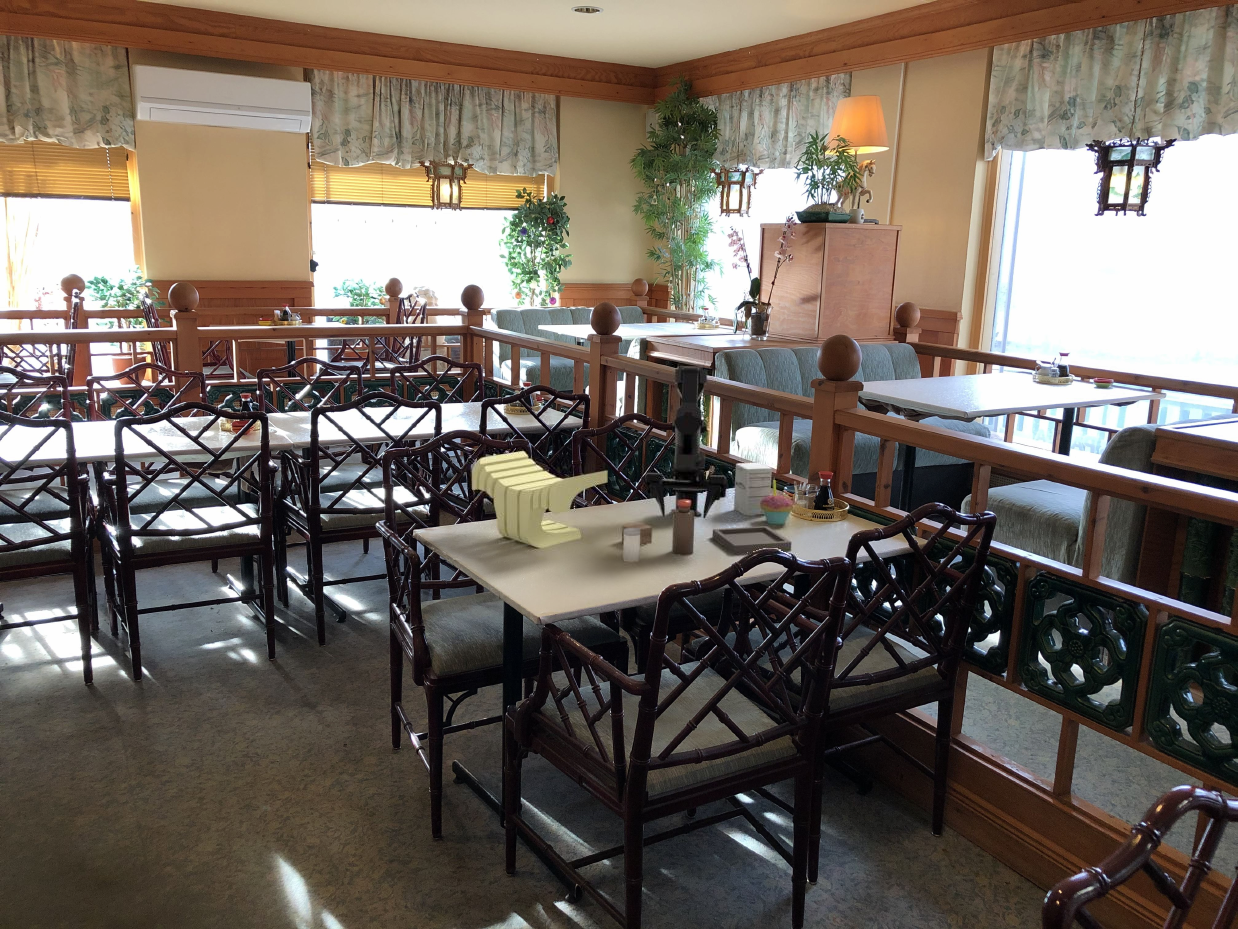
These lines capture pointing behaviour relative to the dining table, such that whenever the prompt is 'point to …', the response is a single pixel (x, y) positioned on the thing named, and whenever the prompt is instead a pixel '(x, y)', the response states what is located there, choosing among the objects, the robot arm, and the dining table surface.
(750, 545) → the tray
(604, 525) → the dining table surface
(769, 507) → the cupcake
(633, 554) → the salt shaker
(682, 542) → the soy bottle
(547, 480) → the slatted curved stool
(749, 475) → the supplement box
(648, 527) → the walnut block
